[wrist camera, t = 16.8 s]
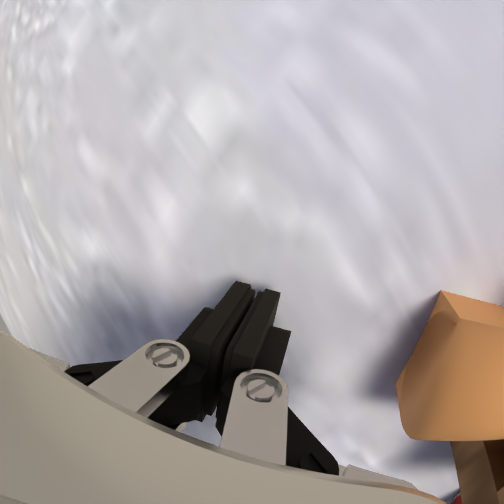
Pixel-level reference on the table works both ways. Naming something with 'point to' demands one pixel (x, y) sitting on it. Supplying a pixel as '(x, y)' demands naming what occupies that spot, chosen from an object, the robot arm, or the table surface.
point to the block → (480, 470)
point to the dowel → (456, 374)
